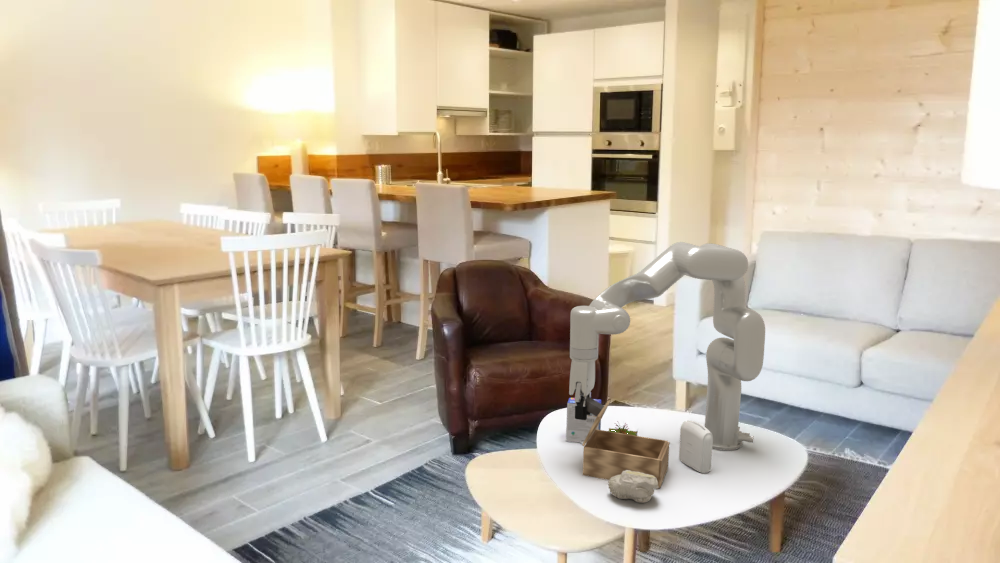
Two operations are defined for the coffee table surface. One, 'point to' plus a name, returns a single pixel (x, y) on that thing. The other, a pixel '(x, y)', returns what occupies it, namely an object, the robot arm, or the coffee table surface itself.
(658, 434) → the coffee table surface
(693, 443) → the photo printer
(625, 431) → the lily flower
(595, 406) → the flap
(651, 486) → the fossil replica
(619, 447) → the open wooden box
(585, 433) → the ink cartridge box
